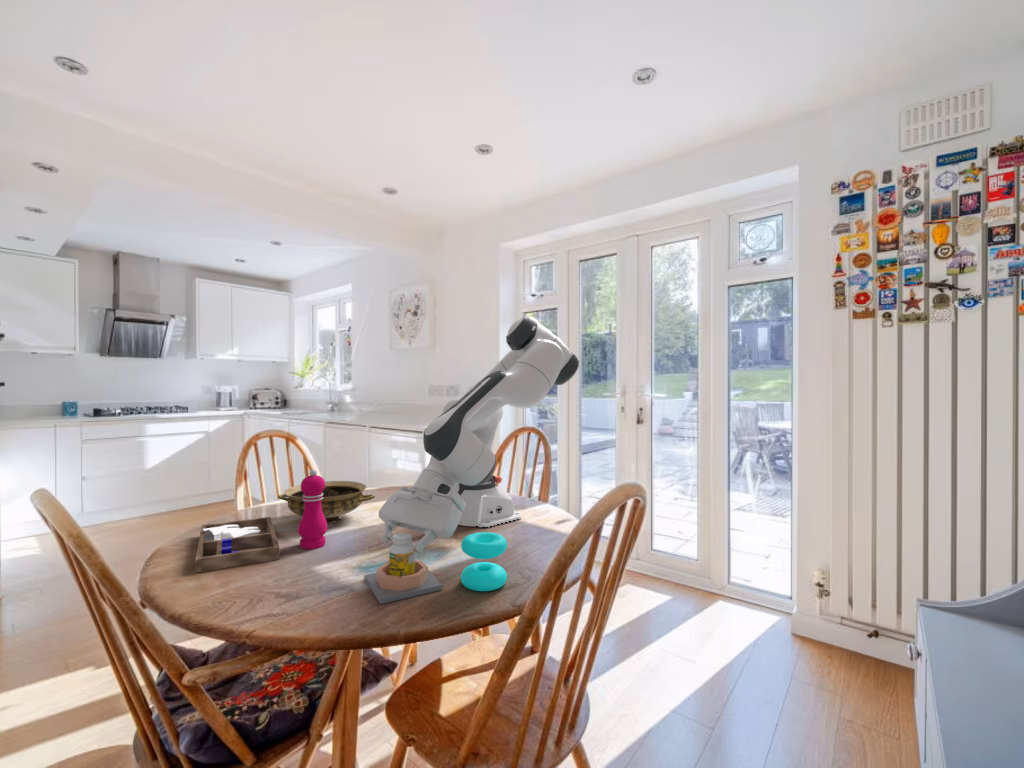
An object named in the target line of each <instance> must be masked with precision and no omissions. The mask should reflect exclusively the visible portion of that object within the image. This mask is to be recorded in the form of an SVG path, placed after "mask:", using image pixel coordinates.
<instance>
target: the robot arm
mask: <svg viewBox="0 0 1024 768" xmlns="http://www.w3.org/2000/svg"><path fill="white" fill-rule="evenodd" d="M505 338H506V341H505V342H506V344H507V345H508V347H509V348H510V349H511V350H510V351H508V353H507V354H505V355H504V356H503V357H502V359H500V361H499V362H498V363H497V364H495V365H494V367H493V368H492V369H491V370H490V371H489V372H488V373H487V374H486V375H485V376H484V377H482V378H481V379H480V380H478V381H477V382H476V383H474V384H473V385H472V386H470V387H469V388H468V389H466V390H465V391H464V392H462V393H461V394H459V395H458V396H457V397H456V398H453V399H451V400H450V401H448V402H447V403H446V404H445V406H443V411H442V414H440V415H439V416H438V417H436V418H435V419H434V420H433V421H431V422H430V423H429V424H428V425H427V427H426V428H425V430H424V431H423V437H422V439H423V440H422V441H423V448H424V451H425V452H426V453H427V454H428V455H430V456H431V457H430V459H429V461H428V464H427V465H426V467H424V468H423V469H422V471H421V473H420V474H419V475H418V477H417V479H416V481H415V482H414V483H413V486H412V487H407V486H402V487H401V488H399V489H397V490H395V491H394V492H392V494H391V495H390V496H389V497H388V498H387V500H386V501H385V502H384V504H382V506H381V508H380V509H379V510H378V517H379V519H380V520H381V521H382V522H384V523H385V524H384V531H383V532H384V533H383V535H382V536H381V537H380V541H381V542H382V543H383V544H387V545H390V544H391V541H392V540H393V535H392V533H393V531H394V530H395V529H396V528H397V527H398V528H402V529H406V530H410V531H415V532H419V533H423V534H424V536H422V538H420V540H415V541H414V543H413V547H412V549H413V550H414V551H415V553H419V554H421V553H423V551H424V549H425V548H426V547H427V546H428V545H429V544H430V543H432V542H433V541H434V540H435V538H436V537H438V538H441V539H447V540H448V539H449V538H450V537H452V536H453V535H454V533H455V531H456V530H457V527H458V525H459V526H465V527H476V526H478V528H482V527H488V528H491V527H490V526H492V527H495V526H498V525H497V524H499V525H502V524H501V523H503V524H506V523H505V522H507V523H510V522H509V521H511V522H514V521H513V520H515V521H518V520H517V519H519V520H521V519H522V515H521V513H520V512H519V511H517V510H515V506H514V502H513V499H512V497H511V496H510V495H509V494H507V493H506V492H504V490H502V489H501V488H500V487H498V486H497V484H501V483H502V482H503V478H502V477H501V476H499V475H494V472H495V470H496V469H495V468H496V465H497V458H496V457H497V456H496V454H495V453H494V452H493V446H494V440H495V437H496V433H497V428H498V425H499V423H500V422H501V420H502V418H503V416H504V415H503V414H504V410H503V407H505V406H506V405H508V406H510V407H513V408H518V409H531V408H534V407H537V406H538V405H540V403H541V402H542V401H543V400H544V399H545V398H546V397H547V395H548V394H549V392H550V390H552V388H553V386H562V385H564V384H566V383H567V382H569V381H571V379H573V378H574V376H575V375H576V373H577V371H578V369H579V367H580V361H579V358H578V357H577V355H576V354H575V353H574V352H573V351H572V350H571V349H570V348H568V347H567V345H566V344H565V343H564V342H563V341H562V340H561V339H560V337H558V336H557V335H555V334H554V333H552V332H551V331H550V329H548V328H546V327H545V326H544V325H542V324H541V323H539V320H537V319H536V318H534V317H532V316H531V315H526V316H523V317H522V318H519V319H517V320H515V321H514V322H513V323H512V324H511V326H510V327H509V329H508V331H507V335H506V336H505ZM520 518H521V519H520ZM494 525H495V526H494Z"/></svg>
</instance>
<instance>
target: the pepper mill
mask: <svg viewBox="0 0 1024 768" xmlns="http://www.w3.org/2000/svg"><path fill="white" fill-rule="evenodd" d="M300 484H301V490H302V492H303V493H304V495H303V501H304V503H305V507H304V513H303V516H301V519H299V520H300V521H299V522H298V527H297V534H298V535H299V536H300V537H301V538H300V539H299V548H300V549H304V550H314V549H315V550H316V549H320V548H322V547H324V546H325V545H326V536H324V535H325V534H326V533H327V531H328V523H327V522H326V519H325V517H324V514H323V512H322V507H321V501H322V499H323V493H322V491H323V490H324V489H325V479H324V478H323V477H322V476H320V475H318V471H317V470H316V469H311V470H310V471H309V475H308V476H306V477H304V478H303V479H302V481H301V482H300Z"/></svg>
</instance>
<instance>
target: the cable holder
mask: <svg viewBox="0 0 1024 768" xmlns="http://www.w3.org/2000/svg"><path fill="white" fill-rule="evenodd" d="M234 552H240V551H239V550H234V551H232V546H231V538H229V539H222V554H228V553H234Z"/></svg>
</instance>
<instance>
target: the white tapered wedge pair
mask: <svg viewBox="0 0 1024 768" xmlns="http://www.w3.org/2000/svg"><path fill="white" fill-rule="evenodd" d="M238 527H239V525H223V526H220V527H213V528H206V529H202V530H201V529H200V532H205V542H206V541H213V540H220V539H227V538H235V537H242V536H249V535H256V534H261V529H259V528H258V527H244V528H238Z"/></svg>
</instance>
